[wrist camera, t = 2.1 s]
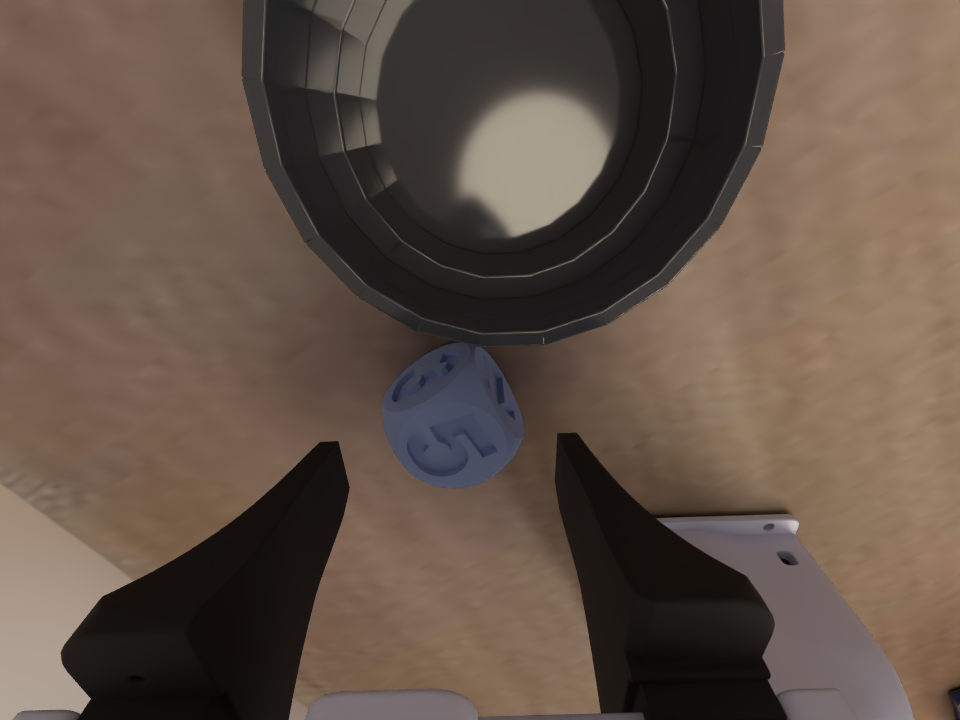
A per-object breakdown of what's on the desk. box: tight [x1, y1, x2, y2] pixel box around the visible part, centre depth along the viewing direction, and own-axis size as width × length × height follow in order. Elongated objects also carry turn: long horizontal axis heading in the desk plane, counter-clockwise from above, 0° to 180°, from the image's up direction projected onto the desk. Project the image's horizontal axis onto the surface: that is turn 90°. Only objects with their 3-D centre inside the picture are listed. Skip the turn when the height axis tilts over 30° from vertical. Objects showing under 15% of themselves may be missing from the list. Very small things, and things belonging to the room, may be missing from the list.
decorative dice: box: [382, 343, 524, 488], centre depth 17 cm, size 4×4×4 cm
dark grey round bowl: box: [242, 0, 785, 347], centre depth 12 cm, size 11×11×6 cm
